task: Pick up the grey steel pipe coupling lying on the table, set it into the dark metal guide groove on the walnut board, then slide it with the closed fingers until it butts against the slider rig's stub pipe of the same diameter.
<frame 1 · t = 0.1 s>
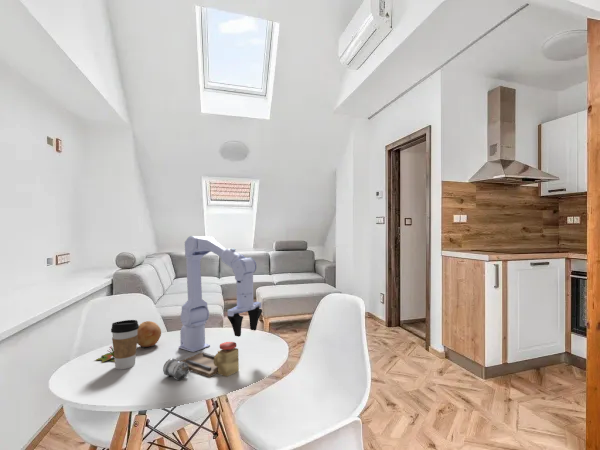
hand: (245, 332, 109), 10 cm above the table, tool pointing down, fingers open, 7 cm apart
lily flower: (114, 358, 117), on the table
onion: (148, 346, 127), on the table
coffee cup: (125, 366, 108), on the table
pipe coupling: (176, 377, 98), on the table
slider rig: (207, 365, 107), on the table
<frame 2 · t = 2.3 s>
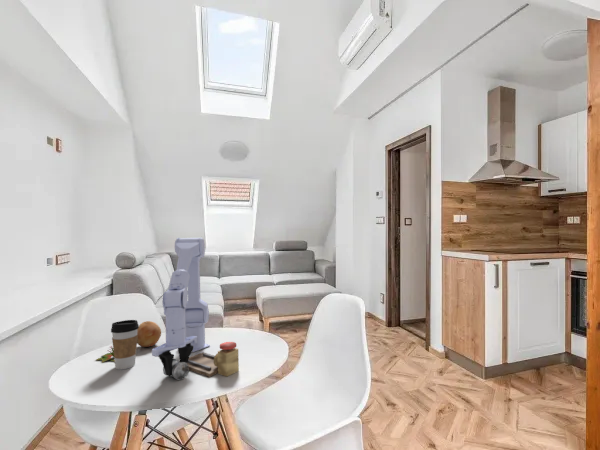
hand: (176, 372, 98), 1 cm above the table, tool pointing down, fingers closed on pipe coupling, 4 cm apart
pipe coupling: (176, 377, 98), on the table, touching gripper
everything else where it was.
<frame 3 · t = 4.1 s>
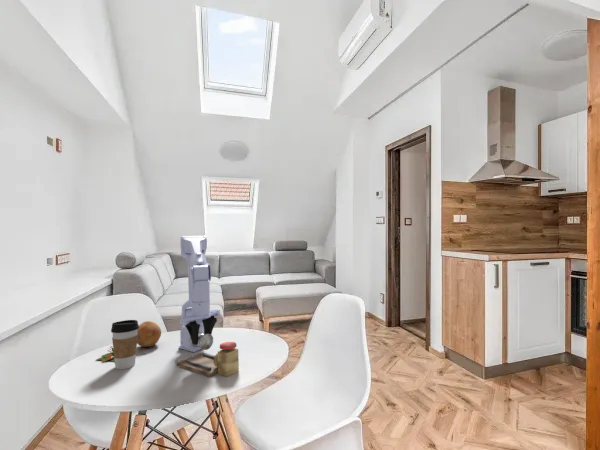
hand: (201, 341, 106), 8 cm above the table, tool pointing down, fingers closed on pipe coupling, 4 cm apart
pipe coupling: (200, 348, 105), point 6 cm above the table, tilted 7°, touching gripper
everything else where it was.
when the fingers open (3 cm above the table, at t = 5.7 s): pipe coupling stays where it is, resting on slider rig.
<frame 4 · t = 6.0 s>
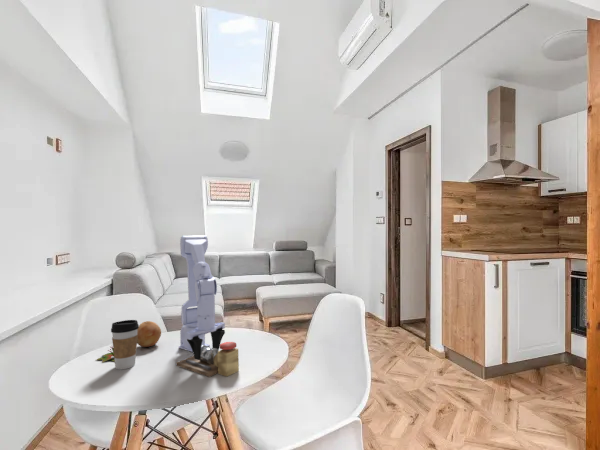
hand: (206, 355, 107), 3 cm above the table, tool pointing down, fingers open, 7 cm apart
pipe coupling: (206, 362, 107), point 1 cm above the table, tilted 15°, touching slider rig
everything else where it was.
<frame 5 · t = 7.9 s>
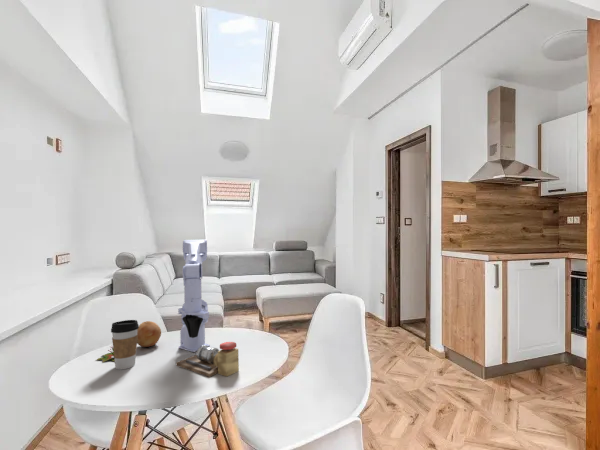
hand: (193, 336, 111), 8 cm above the table, tool pointing down, fingers closed
nothing on the table moved.
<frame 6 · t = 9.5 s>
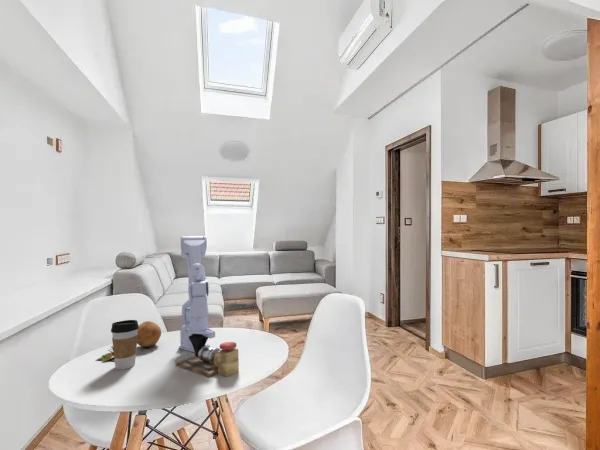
hand: (199, 355, 109), 2 cm above the table, tool pointing down, fingers closed
pipe coupling: (207, 362, 106), point 1 cm above the table, tilted 24°, touching gripper
everything else where it was.
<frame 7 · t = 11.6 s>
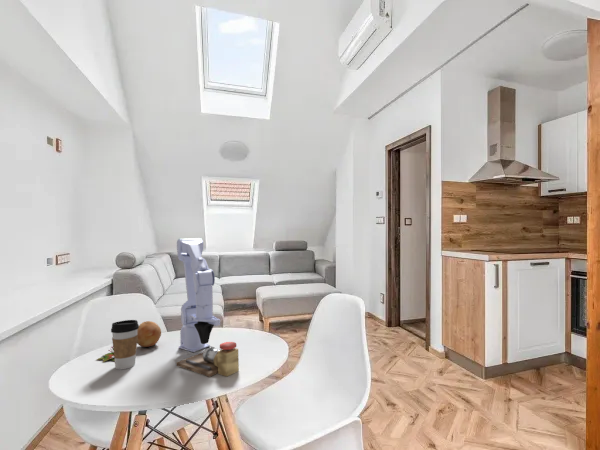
hand: (204, 343, 112), 6 cm above the table, tool pointing down, fingers closed
pipe coupling: (212, 363, 105), point 1 cm above the table, tilted 24°, touching slider rig
everything else where it was.
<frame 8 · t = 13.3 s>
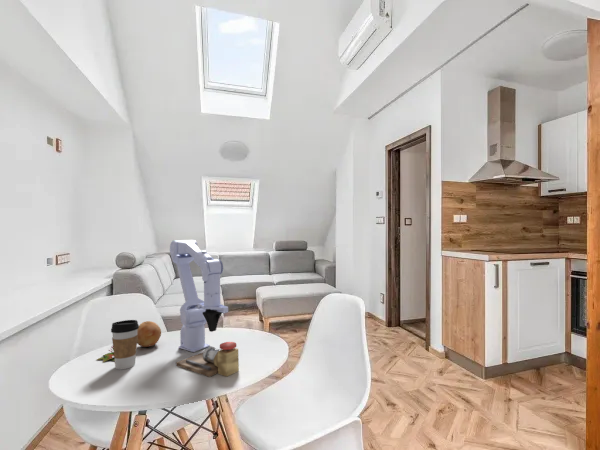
hand: (212, 330, 114), 9 cm above the table, tool pointing down, fingers closed
nothing on the table moved.
at the end: pipe coupling 0.4 cm from the target spot, point 1.2 cm above the table; the gripper is holding nothing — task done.
